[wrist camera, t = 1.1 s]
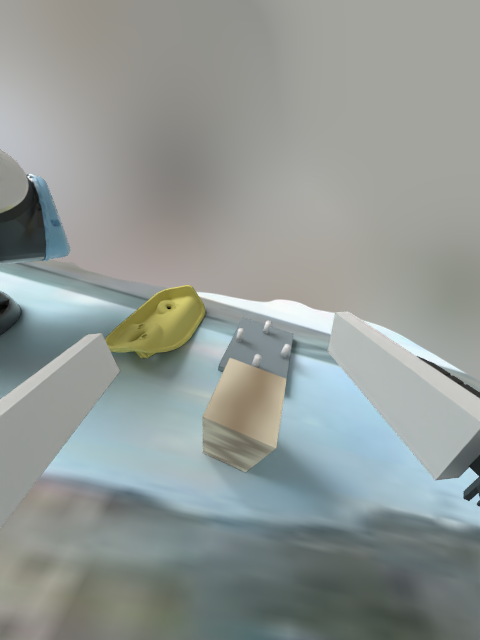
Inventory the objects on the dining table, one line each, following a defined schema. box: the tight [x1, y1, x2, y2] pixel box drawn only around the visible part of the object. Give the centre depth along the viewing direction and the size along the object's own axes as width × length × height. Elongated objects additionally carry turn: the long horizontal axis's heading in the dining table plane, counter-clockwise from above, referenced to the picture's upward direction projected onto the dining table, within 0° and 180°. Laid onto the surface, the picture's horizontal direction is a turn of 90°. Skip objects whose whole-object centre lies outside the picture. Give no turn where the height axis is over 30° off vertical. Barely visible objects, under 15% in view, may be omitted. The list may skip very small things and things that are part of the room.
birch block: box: [203, 358, 287, 472], centre depth 21 cm, size 6×6×14 cm
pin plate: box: [218, 317, 293, 379], centre depth 35 cm, size 12×14×4 cm
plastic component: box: [105, 285, 205, 359], centre depth 36 cm, size 20×7×10 cm
